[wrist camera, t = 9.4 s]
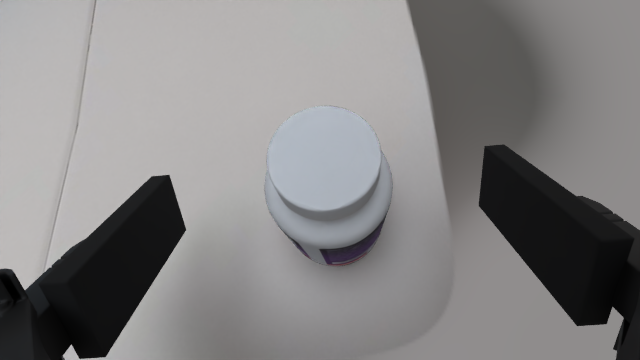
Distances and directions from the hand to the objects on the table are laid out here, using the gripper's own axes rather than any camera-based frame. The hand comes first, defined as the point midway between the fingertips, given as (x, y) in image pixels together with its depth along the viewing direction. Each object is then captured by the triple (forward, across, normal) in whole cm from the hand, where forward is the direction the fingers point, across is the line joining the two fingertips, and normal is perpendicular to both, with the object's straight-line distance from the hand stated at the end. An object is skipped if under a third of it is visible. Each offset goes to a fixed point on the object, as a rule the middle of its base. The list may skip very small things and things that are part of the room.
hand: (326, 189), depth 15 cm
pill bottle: (+5, 0, -5) cm, 7 cm away
